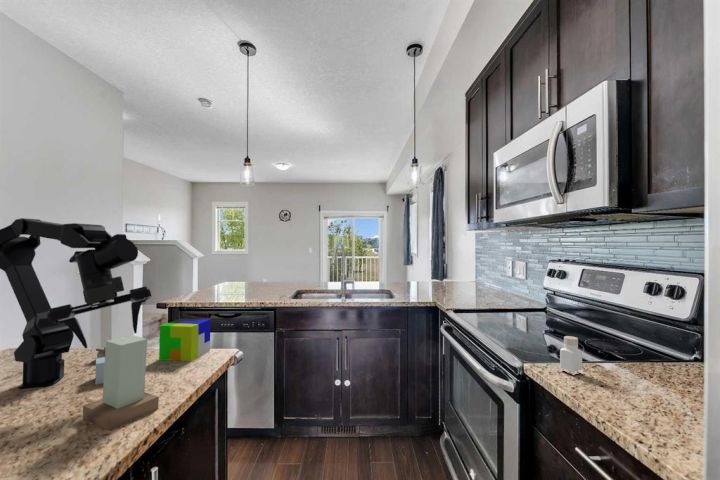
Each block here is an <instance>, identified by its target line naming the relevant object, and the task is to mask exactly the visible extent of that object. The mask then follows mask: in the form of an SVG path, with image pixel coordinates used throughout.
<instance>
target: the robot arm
mask: <svg viewBox="0 0 720 480" xmlns="http://www.w3.org/2000/svg"><path fill="white" fill-rule="evenodd" d="M106 230H107V229H106V227H105V226H103V225H102V224H93V223H92V224H90V223H88V224H87V223H77V222H74V223H57V222H52V221H45V220H41V219H39V218H38V219H36V218H26V217H25V218H23V217H21V218H17V219H14V221H12V222H11V224H10V225H7V226H5V227H3V228H0V270H2V271H3V272H4V273H5V275H6V277H7V280H8V282H9V284H10V287H11V288H12V289H11V290H12V291H13V294H14V296H15V298H16V301H17V302H18V305H19V307H20V310H21V312H22V314H23V316H24V319H25V321H26V324H25V327H24V329H23V331H22V340H23V341H22V342H21V343H20V344H19V346H18V347H17V348H16V349H15V350H14V352H13V356H14V360H15V362H19V363H22V383H21V384H20V385H18V389H26V388H34V387H35V388H36V387H42V386H51V385H55V384H56V383H57V382H59V380H61V379H62V378H63V377H64V376H65V359H64V358H63V354H65V353H69V352H70V350H71V346H72V343H73V340H74V335H75V336H76V338H77V339H78V341H79V342H80V344H81V345H82V346H83V348H84V349H89V347H88V344H87V339H86V337H85V334H84V332H83V330H82V327H81V324H80V321H79V320H78V318H77V317H76V316H77V315H81V314H85V313H89V312H94V311H97V310H100V309H101V310H102V309H104V308H108V307H112V306H116V305H120V304H124V303H127V302H128V303H129V302H131V304H130V307H131V308H130V310H131V320H132V321H131V322H132V329H133V333H134V334H137V332H138V331H137V330H138V322H139V321H138V320H139V314H140V310H141V306H143V305H145V304H146V303H147V301H148V300H151V298H152V293H151V289H150V287H148V286H141V287H137V288H133V289H130V290H129V293H127V294H123V295H122V294H121V295H118V293H119V292H123V291H125V288H124V283H123V278H122V276H119V275H118V276H116V277H113V274H112V271H111V270H113V269H116V268H118V267H122V266H124V265H126V264H129V263H131V262H133V261H135V260H136V259H137V258H138V256H139V250H138V249H139V248H138V247H137V246H136V245H135V243H134V242H133V241H132V240H131V239H129V238H128V237H127V234H125V233H124V234H122V233H117V234H114V235H111V234H110V233H109V232H108V231H106ZM21 235H22V236H21ZM24 235H25V236H24ZM26 235H27V236H29V237H27V236H26ZM41 238H44V239H51V240H55V241H59V242H60V244H62V245H63V246H66V247H68V248H70V249H87V250H83V251H82V250H81V251H80V250H78V251H74V254H73V255H72V256H71V257H70V258H69V260H68V261H69V262H68V263H71V264H72V263H76V264H77V267H78V269H77V270H78V272H79V273H78V274H79V276H80V281H81V282H80V283H81V286H82V289H83V290H82V294H83V298H84V304H80V305H75V306H73V305H72V304H71V303H68V304H65V305H60V306H56V307H51V304H50V302H49V300H48V298H47V295H46V293H45V291H44V289H43V286H42V283H41V282H40V280H39V278H38V275H37V273H36V271H35V269H34V266H33V264H32V263H33V261H34V259H35V257H36V255H37V253H36V249H38V247H39V246H40V245H41V244H42V243H41Z"/></svg>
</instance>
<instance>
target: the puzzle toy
mask: <svg viewBox="0 0 720 480" xmlns="http://www.w3.org/2000/svg"><path fill="white" fill-rule="evenodd" d="M158 348H159V350H158V352H159V353H158V360H159V361H178V360H183V361H184V360H185V361H184V362H192V361H194V360H196V359H198V358H199V357H201V356H203V355H204V354H206V353H208V352H210V351H211V319H210V318H209V319H208V318H207V319H205V318H204V319H203V318H179V319H178V318H177V319H176V320H173V321H170V322H166V323H164V324H160V325H159V346H158ZM207 351H208V352H207ZM197 357H198V358H197ZM195 358H196V359H195ZM183 361H182V362H183Z"/></svg>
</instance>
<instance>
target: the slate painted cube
mask: <svg viewBox="0 0 720 480" xmlns="http://www.w3.org/2000/svg"><path fill="white" fill-rule="evenodd" d="M104 366H105V357H102V358H97V357H96V359H95V385H101V384H104Z"/></svg>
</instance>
